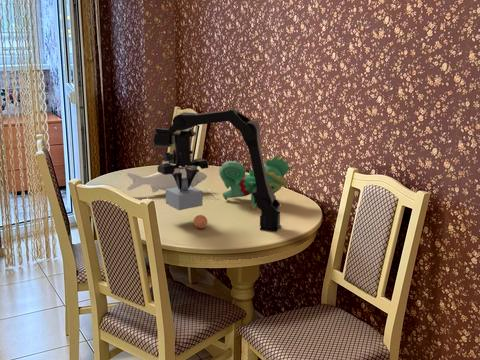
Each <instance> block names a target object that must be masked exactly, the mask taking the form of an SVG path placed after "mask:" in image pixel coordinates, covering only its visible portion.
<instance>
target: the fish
mask: <svg viewBox="0 0 480 360" xmlns="http://www.w3.org/2000/svg"><path fill="white" fill-rule="evenodd" d="M165 163H168V164H169V162H168V161H166V162H165V161H164V160H163V161H162V163H161V164H165ZM171 165H174V164H173V163H171ZM179 167H182V166H179ZM180 173H182V178H186V170H185V169H180ZM207 175H208V174H206V173H204V172H202V171H201V170H199V172H197V173H196V175H195V177H194V179H193V181H192V183H191V185H190V186H192V187H194V188H196V186H197V185H199V184H200V183H202V182H203V181H205V180H206V179H207V177H208V176H207ZM126 176H127V177H129V179H131V180H132V184H130V186H128V187H127V189H126V191H132V190H135V189H136V188H140V187H141V186H144V185H147V186H148V185H149V186H150V187H151V188H150V189H151V191H152V193H153V194H154V193H156V192H158V191H159V190H161V191H166V189H169V188H175V187H178V186H177V184H176V181H175V179H174V177H173V175H172V174H168V175H164V174H162V173H159V172H158V171H157V172H156V173H153V174H150V175H148V176H141V175H138V174H135V173H131V172H127V175H126Z"/></svg>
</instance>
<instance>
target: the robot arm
mask: <svg viewBox="0 0 480 360" xmlns="http://www.w3.org/2000/svg"><path fill="white" fill-rule="evenodd" d="M225 122H229V123H230V124H231V125H232V126H233V127H234V128H235V129H236V130H237V131H239V132H240V134H241V136H242V139H243V141H244V143H245V145H246V147H247V149H248V153H249V157H250V162H251V166H252V169H253V172H254V176H255V181H256V189H255V190H254V192H253V196H254V199H255V202H254V204H255V203H256V207H257V208H258V209H260V212H261V214H260V216H259V230H262V231H267V232H268V231H270V232H275V233H276V232H278V231H279V229H281V227H282V225H281V211H279V210H280V207H281V203H280V202H279V201H278V200H277V199H275V196H276V195H275V194H273V191H272V189H271V187H270V185H269V183H268V181H267V176H266V172H265V167H264V164H265V163H264V158H263V154H262V147H261V126H260V125H261V124H259V122H257V121H256V120H252V119H250V118H249V117H248V116H246V115H244V114H242V113H241V112H239V111H238V110H237V109H236V108H235V109H234V108H230V109H226V110H225V109H224V110H218V111H217V110H216V111H210V112H203V113H195V112H180V113H179V114H177V115H175V116H174V117H173V118H172V124H171V125H170V127H169V128H162V127H157V128H155V133H154V137H153V144H154V147H159V148H171V147H172V146H173V145H174V149H173V151H172V153H170V152H169V151H168V152H163V161H165V162H166V161H168V162H169V164H168V163H165V164H162V163H161V164H158V165H157V173H158V172H159V173H162V174H164V175H168V174H172V175H173V177H174V179H175V181H176V184H177V186H178V189H179V190H181V184H182V173H180V169H185V170H186V178H188V188H189V187H190V185H191V183H192V181H193V179H194V177H195V175H196V173H197V172H199V171H200V170H199V169H198V167H199V168H200V169H201V170H204V169H209V162H208V160H207V159H204V158H201V157H199V158H194V159H192V154H194V152H193V150H192V144H191V138H192V137H195V136H196V135H197V133H196V132H195V131H194V130H193V129H192V128H193V127H196V126H199V125H201V126H202V125H207V124H208V125H209V124H217V123H225ZM188 129H189V130H188ZM178 131H180V132H178ZM171 163H172V164H173V165H171ZM179 166H182V167H179ZM274 195H275V196H274Z"/></svg>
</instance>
